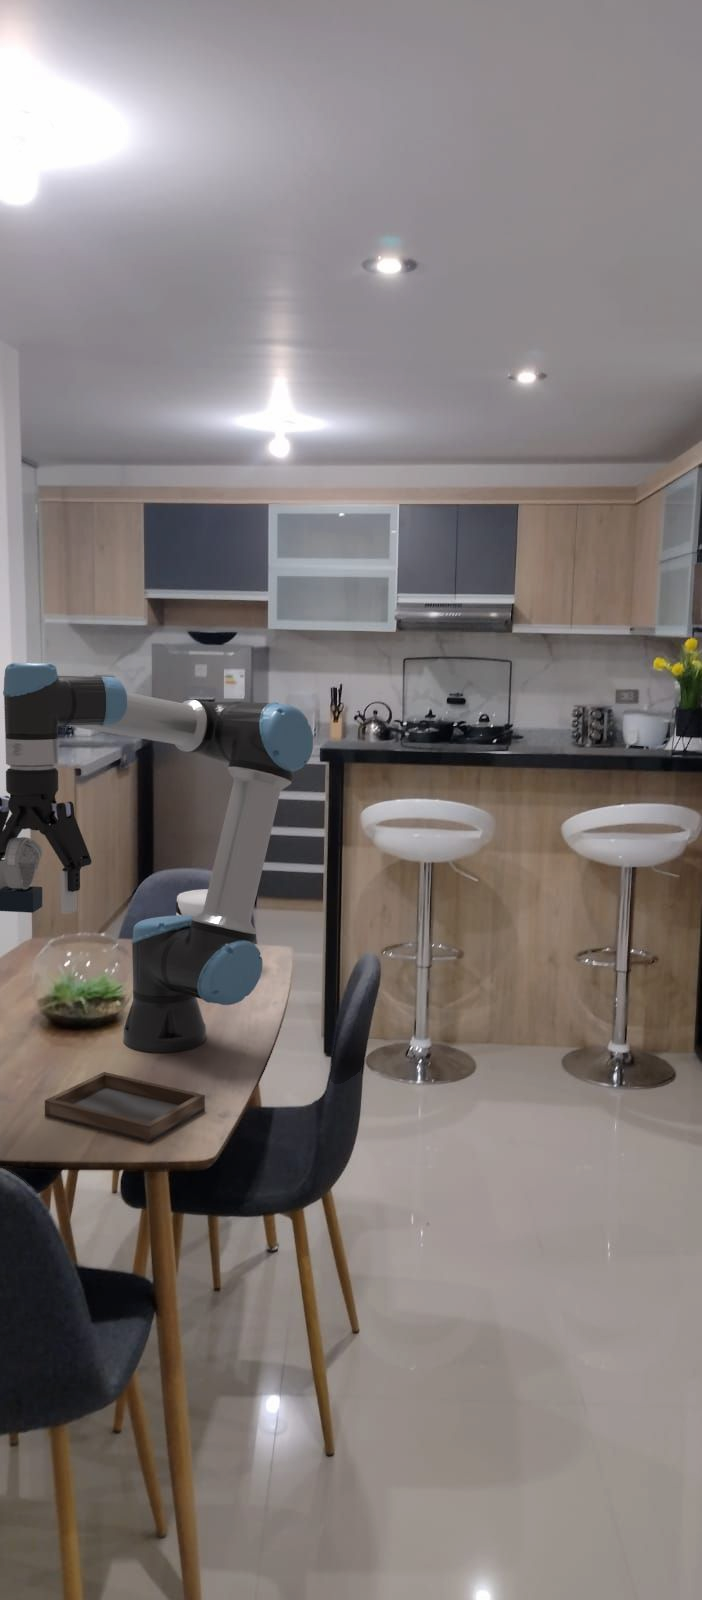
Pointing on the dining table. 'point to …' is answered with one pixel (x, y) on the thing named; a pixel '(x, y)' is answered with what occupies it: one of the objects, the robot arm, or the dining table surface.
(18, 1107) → the dining table surface
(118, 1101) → the valet tray
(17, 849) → the watch
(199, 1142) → the dining table surface
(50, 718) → the robot arm
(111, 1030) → the dining table surface
